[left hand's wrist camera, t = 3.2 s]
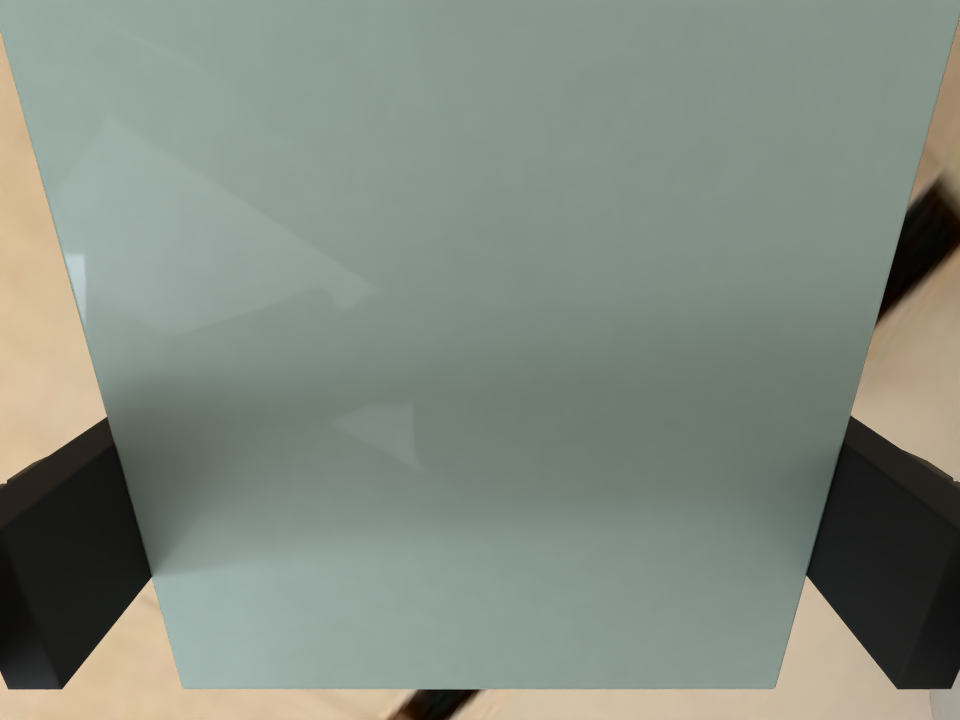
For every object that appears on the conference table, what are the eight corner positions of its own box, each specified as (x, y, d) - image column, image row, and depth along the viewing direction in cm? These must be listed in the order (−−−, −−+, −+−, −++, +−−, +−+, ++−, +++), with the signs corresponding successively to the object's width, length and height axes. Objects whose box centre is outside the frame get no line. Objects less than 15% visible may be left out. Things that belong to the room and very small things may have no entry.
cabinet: (247, -258, 13) (-432, -1498, 3) (710, -258, 13) (1379, -1494, 3) (327, 435, 20) (181, 690, 10) (631, 435, 20) (776, 691, 10)
